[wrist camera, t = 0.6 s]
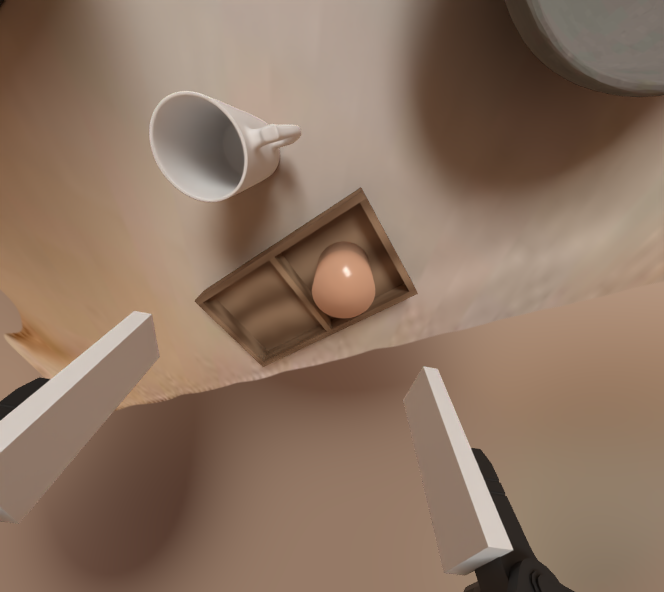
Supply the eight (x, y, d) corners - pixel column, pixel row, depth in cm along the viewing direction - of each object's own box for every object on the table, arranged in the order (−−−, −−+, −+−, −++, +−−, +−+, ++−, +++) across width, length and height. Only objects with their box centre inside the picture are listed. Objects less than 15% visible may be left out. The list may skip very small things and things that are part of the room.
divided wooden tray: (204, 289, 38) (194, 301, 35) (361, 187, 30) (362, 191, 27) (268, 353, 44) (263, 366, 41) (412, 282, 36) (417, 293, 33)
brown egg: (307, 258, 34) (299, 283, 28) (353, 231, 32) (355, 251, 26) (335, 297, 37) (333, 327, 31) (379, 274, 34) (386, 301, 28)
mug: (236, 188, 30) (180, 210, 20) (211, 122, 27) (127, 107, 17) (318, 168, 29) (303, 180, 18) (301, 95, 25) (272, 60, 15)
